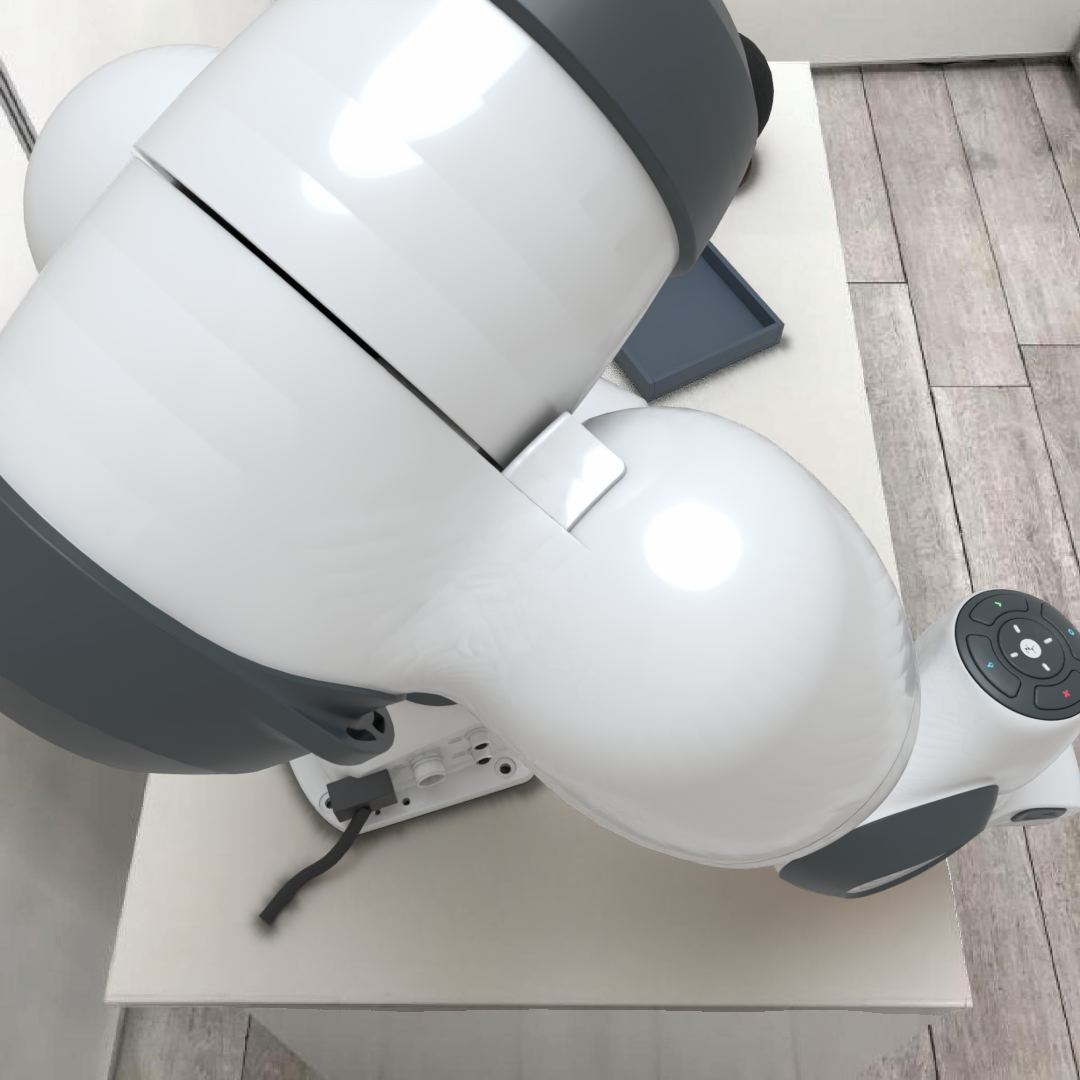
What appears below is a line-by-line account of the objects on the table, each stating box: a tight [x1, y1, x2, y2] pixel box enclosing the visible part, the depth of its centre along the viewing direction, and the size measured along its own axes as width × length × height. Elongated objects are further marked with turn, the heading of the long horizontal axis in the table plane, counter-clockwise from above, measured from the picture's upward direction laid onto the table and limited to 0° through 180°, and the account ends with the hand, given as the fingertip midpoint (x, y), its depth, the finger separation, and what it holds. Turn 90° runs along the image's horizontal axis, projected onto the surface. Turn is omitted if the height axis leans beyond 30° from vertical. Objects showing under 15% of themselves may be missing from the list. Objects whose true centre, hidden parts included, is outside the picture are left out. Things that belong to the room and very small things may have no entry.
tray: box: [613, 239, 785, 403], centre depth 106 cm, size 15×21×3 cm
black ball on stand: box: [738, 31, 775, 189], centre depth 111 cm, size 13×13×15 cm
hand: (869, 822), depth 75 cm, fingers closed on sponge, 4 cm apart
